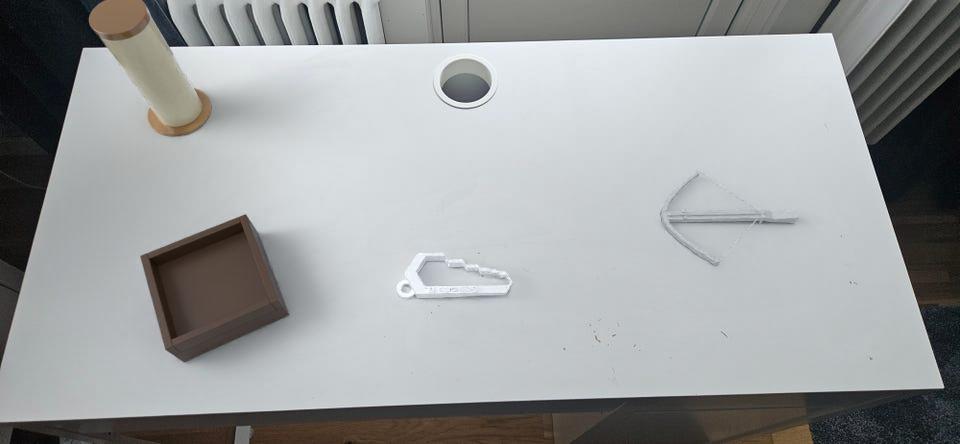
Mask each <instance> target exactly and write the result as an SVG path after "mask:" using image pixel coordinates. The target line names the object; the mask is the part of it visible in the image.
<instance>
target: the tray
mask: <svg viewBox="0 0 960 444" xmlns="http://www.w3.org/2000/svg"><path fill="white" fill-rule="evenodd" d="M140 260H141V264H142V268H143V272H144V276H145V279H146V283H147V287H148V291H149V295H150V299H151V302H152V305H153V309H154V313H155V317H156V321H157V325H158V328H159V332H160V336H161V339H162V343H163V347H164V350H165V351H166V352H168V353H169V354H171V355H172V356H173V357H175V358H177V359H179V360H180V361H181V362H183V363H185V362H188V361H190V360H193V359H195V358H196V357H200V356H201V355H204V354H206V353H208V352H210V351H212V350H215V349H217V348H220V347H221V346H224V345H226V344H229V343H230V342H232V341H236V340H237V339H239V338H241V337H244V336H246V335H248V334H251V333H253V332H255V331H257V330H260V329H262V328H265V327H266V326H269V325H271V324H273V323H275V322H278V321H280V320H282V319H284V318H286V317H289V316H290V312H289V310H288V307H287V305H286V302H285V300H284V297H283V294H282V291H281V289H280V286H279V284H278V281H277V278H276V276H275V273H274V270H273V267H272V265H271V262H270V260H269V256H268V254H267V252H266V249H265V247H264V243H263V241H262V239H261V236H260V234H259V231H258V230H257V229H256V227H255V226H254V224H253V223H252V221H251V219H250V218H249V216H248V215H247V214H246V213H244V214H242V215H239V216H237V217H235V218H232V219H230V220H227V221H224V222H221V223H219V224H216V225H214V226H212V227H209V228H206V229H203V230H201V231H199V232H196V233H194V234H191V235H189V236H186V237H184V238H182V239H179V240H176V241H174V242H170V243H169V244H167V245H164V246H161V247H159V248H156V249H154V250H152V251H148V252H147V253H144V254H141V255H140Z"/></svg>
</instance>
